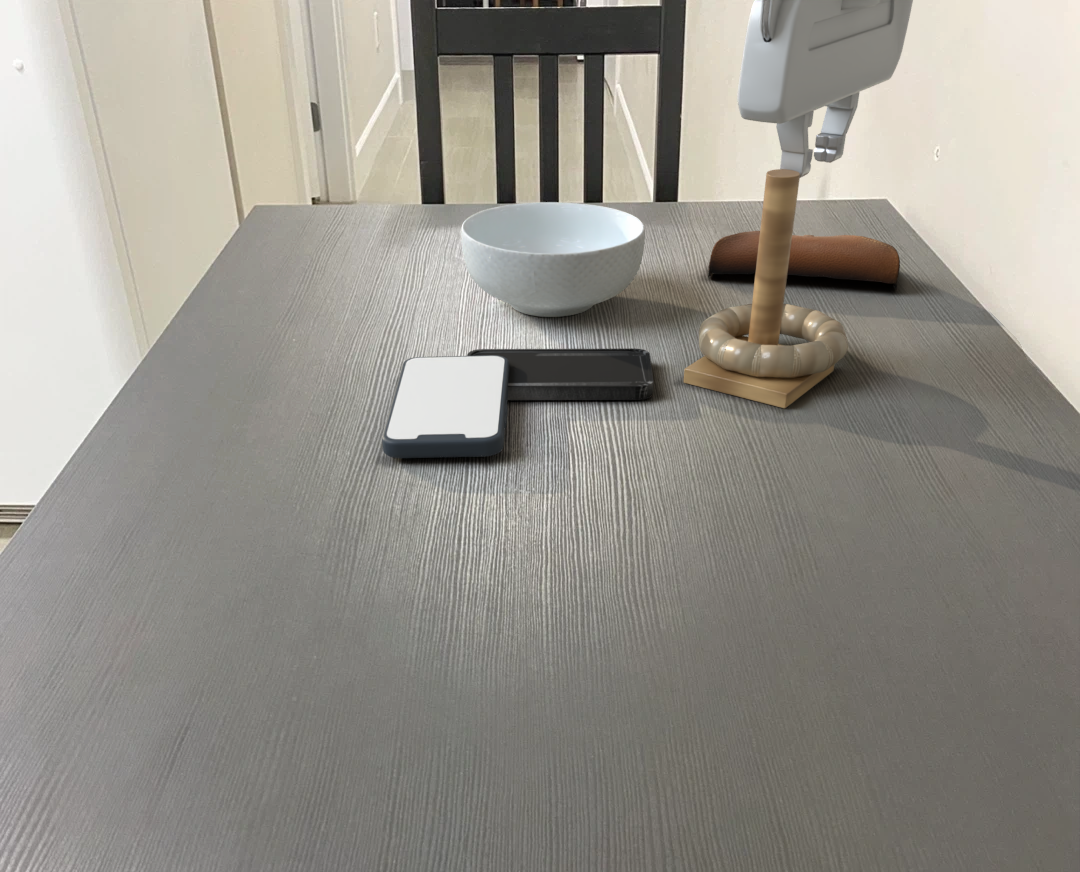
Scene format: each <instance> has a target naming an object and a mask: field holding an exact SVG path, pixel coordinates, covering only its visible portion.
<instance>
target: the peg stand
mask: <svg viewBox="0 0 1080 872" xmlns="http://www.w3.org/2000/svg"><path fill="white" fill-rule="evenodd" d="M800 179H801V178H800V173H799V172H797V171H794V170H787V169H780V168H778V169H777V168H776V169H770V170H768V171H767V172H766V174H765V183H764V192H763V193H764V194H763V201H762V211H761V218H760V219H761V220H760V228H759V231H760V237H759V246H758V255H757V264H756V273H754V283H753V291H752V292H753V293H752V301H751V304H752V310H751V319H750V328H749V335H748V336H746V335H743V336H738V337H735V338H736V339H740V340H744V341H748V342H753V343H757V344H761V345H782V344H780V343H779V342H780V336H781V334H780V328H781V320H782V312H783V304H785V297H786V296H785V295H786V288H787V279H788V275H787V273H788V265H789V257H790V250H791V242H792V235H794V234H793V233H794V226H795V225H794V224H795V219H796V218H795V217H796V211H797V204H798V203H797V202H798V194H799V186H800ZM835 364H836V363H835ZM835 364H834V365H833V366H831V367H830V368H829V369H827V370H826V371H824V372H820V373H815V374H810V375H805V376H800V377H795V378H772V377H754V376H750V375H746V374H742V373H738V372H734V371H730V370H726V369H724V368H722V367H720V366H719V365H717V364H716V363H714V362H713V361H711V360H710V359H708V358H707V357H705V356H704V355H703V356H702V357H700V358H699V359H697V360H695V361H694V362H693V363H691V364H690V365H688V366H686V367H684V369H683V371H684V372H683V384H687V385H692V386H695V387H699V388H703V389H707V390H711V391H714V392H718V393H723V394H726V395H731V396H733V397H734V396H735V397H738V398H741V399H746V400H749V401H753V402H758V403H762V404H766V405H769V406H773V407H777V408H781V409H786V408H788V407H789V406H791V404H793V403H794V402H796V401H797V400H798V399H799V398H800V397H802V396H803V395H805V394H806V393H808V391H810V390H811V389H812V388H813V387H814V386H817V384H818V383H820V382H821V381H823V380H824V379H825V378H826V377H828V376H829V375H830V374H832V373H833V372H834V370H835Z"/></svg>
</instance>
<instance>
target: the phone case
mask: <svg viewBox="0 0 1080 872" xmlns="http://www.w3.org/2000/svg"><path fill="white" fill-rule="evenodd" d="M508 379H509V361H508V359H507V358H505V357H503V356H498V355H483V356H467V355H447V356H446V355H444V356H414V357H410V358H407V359H406V360H404V361H403V362H402V364H401V368H400V371H399V376H398V379H397V382H396V386H395V389H394V393H393V397H392V400H391V403H390V407H389V409H388V413H387V417H386V421H385V425H384V428H383V431H382V435H381V444H382V451H383V454H385V455H386V456H387V457H390V458H393V459H429V458H432V459H433V458H435V459H436V458H477V457H479V458H480V457H492V456H495V455H497V454H499V453H501V452H502V450H503V449H504V444H505V433H506V428H507V422H508V413H509V412H508V400H507V398H508Z"/></svg>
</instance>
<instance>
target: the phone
mask: <svg viewBox="0 0 1080 872" xmlns="http://www.w3.org/2000/svg"><path fill="white" fill-rule="evenodd" d="M483 355H498V356H503V357H505V358H507V359H508V361H509V379H508V398H507V401H641V400H647V399H650V398H651V397H652V396H653V392H654V375H653V368H652V361H651V354H650V352H649V351H648V350H647V349H643V348H634V347H633V348H478V349H472V350H470V351H468V352H467V355H466V356H483Z"/></svg>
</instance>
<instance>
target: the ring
mask: <svg viewBox="0 0 1080 872" xmlns="http://www.w3.org/2000/svg"><path fill="white" fill-rule="evenodd" d="M751 310H752V303H747V304H743V305H742V304H741V305H735V306H731V307H725V308H723V309H721V310H719V311H718V312H716V313H714V314H712V315H711V316H709V317H708V318H706V319H704V320H703V321H702V323H701V324H700V326H699V330H698V348H699V350H700V352H701V354H702V355H703V356H705V357H707V358H708V359H710V360H711V361H713V362H714V363H716V364H717V365H719V366H720V367H722V368H724V369H726V370H730V371H734V372H738V373H742V374H746V375H750V376H754V377H772V378H795V377H800V376H805V375H810V374H815V373H820V372H824V371H826V370H827V369H829V368H830V367H831V366H833V365H834V364H837V363H838V362H840V361H841V360H842V359H843V358H844V357H845V356H846V355H847V353H848V350H849V340H848V338H847V337H848V336H847V334H846V331H845V327H844V325H843V324H842V323H841V322H840V321H838V320H836V319H835V318H833V317H831V316H829V315H827V314H825V313H823V312H822V311H819V310H817V309H814V308H813V309H812V308H809V307H804V306H799V305H795V304H790V303H784V304H783V312H782V320H781V328H780V335H782V336H788V337H791V338H792V337H793V338H795V339H800V340H805V341H807V342H802V343H797V344H792V345H789V344H788V345H787V344H785V345H784V344H781V345H761V344H757V343H753V342H748V341H744V340H740V339H736V338H735V337H738V336H749V328H750V319H751ZM834 366H835V365H834Z"/></svg>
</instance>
